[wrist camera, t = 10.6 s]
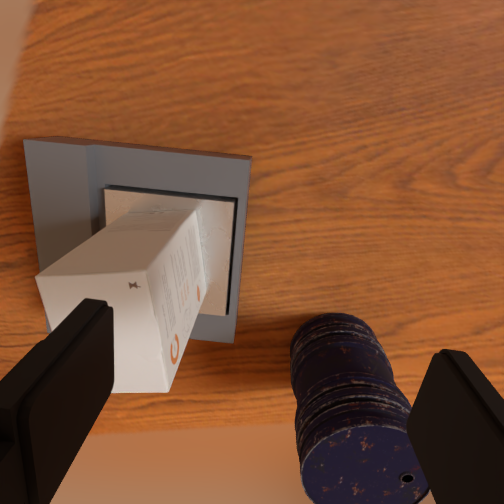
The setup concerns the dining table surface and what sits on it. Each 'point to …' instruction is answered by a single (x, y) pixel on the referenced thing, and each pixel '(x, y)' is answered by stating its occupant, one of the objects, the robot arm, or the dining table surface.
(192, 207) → the pan
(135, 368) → the small box
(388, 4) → the dining table surface
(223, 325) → the scale
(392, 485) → the navy cylindrical canister
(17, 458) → the robot arm
